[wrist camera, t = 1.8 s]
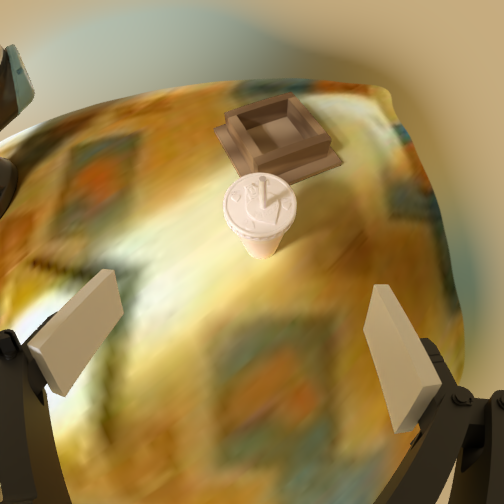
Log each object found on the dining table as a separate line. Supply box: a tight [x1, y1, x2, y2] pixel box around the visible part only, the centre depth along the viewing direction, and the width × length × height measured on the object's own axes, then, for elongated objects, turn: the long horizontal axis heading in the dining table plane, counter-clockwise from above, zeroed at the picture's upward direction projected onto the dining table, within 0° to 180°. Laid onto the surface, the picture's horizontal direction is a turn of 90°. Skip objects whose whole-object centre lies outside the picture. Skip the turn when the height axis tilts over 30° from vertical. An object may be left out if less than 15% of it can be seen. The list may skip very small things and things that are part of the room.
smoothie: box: [223, 173, 297, 259], centre depth 27 cm, size 6×6×14 cm
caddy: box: [214, 92, 342, 185], centre depth 37 cm, size 13×13×4 cm
